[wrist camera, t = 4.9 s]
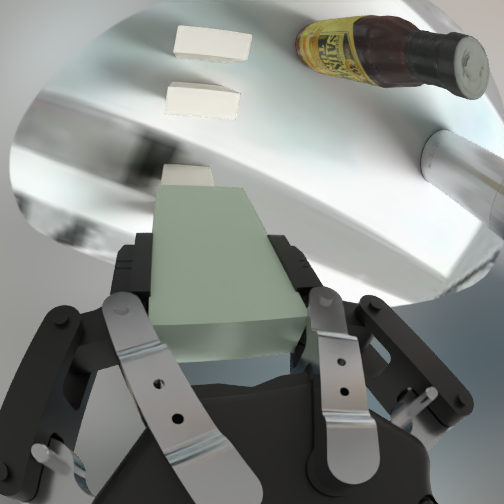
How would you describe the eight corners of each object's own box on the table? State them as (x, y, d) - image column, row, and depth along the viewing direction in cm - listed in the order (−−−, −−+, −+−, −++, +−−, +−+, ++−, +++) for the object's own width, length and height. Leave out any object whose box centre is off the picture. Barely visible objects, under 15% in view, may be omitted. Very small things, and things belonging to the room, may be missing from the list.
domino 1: (230, 45, 23) (252, 34, 15) (226, 63, 24) (247, 60, 16) (180, 40, 22) (178, 25, 14) (176, 58, 23) (173, 52, 15)
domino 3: (209, 166, 31) (221, 208, 23) (207, 183, 32) (217, 229, 24) (164, 163, 29) (157, 204, 21) (162, 180, 30) (156, 227, 22)
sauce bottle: (280, 41, 24) (416, 29, 8) (322, 13, 22) (472, -5, 7) (318, 86, 27) (460, 134, 12) (356, 57, 26) (506, 87, 10)
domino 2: (222, 85, 26) (240, 93, 18) (219, 104, 27) (235, 120, 19) (173, 81, 24) (167, 86, 16) (170, 100, 25) (164, 114, 18)
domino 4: (242, 187, 17) (310, 315, 9) (237, 217, 18) (293, 352, 10) (156, 184, 15) (148, 324, 8) (156, 215, 17) (153, 363, 9)
